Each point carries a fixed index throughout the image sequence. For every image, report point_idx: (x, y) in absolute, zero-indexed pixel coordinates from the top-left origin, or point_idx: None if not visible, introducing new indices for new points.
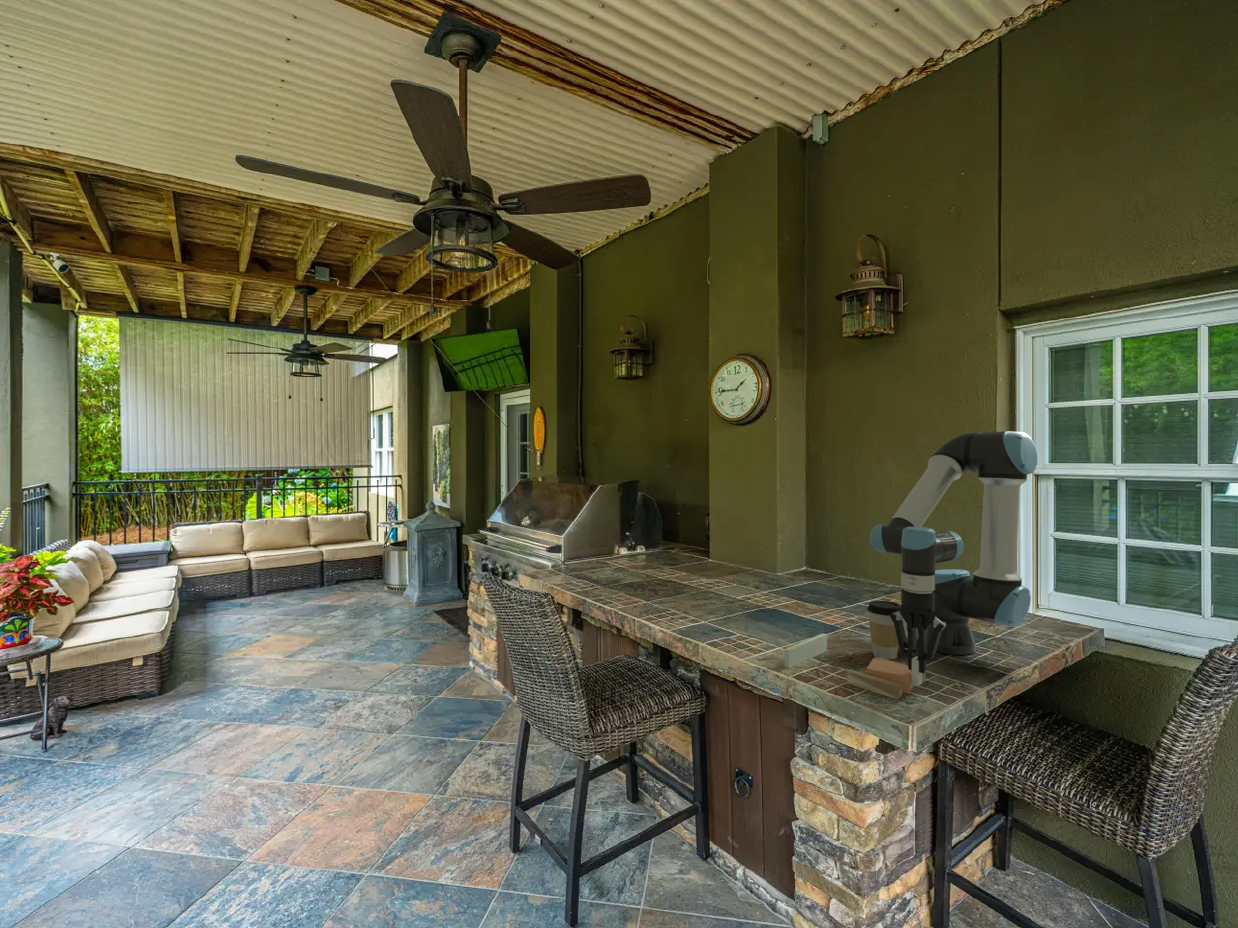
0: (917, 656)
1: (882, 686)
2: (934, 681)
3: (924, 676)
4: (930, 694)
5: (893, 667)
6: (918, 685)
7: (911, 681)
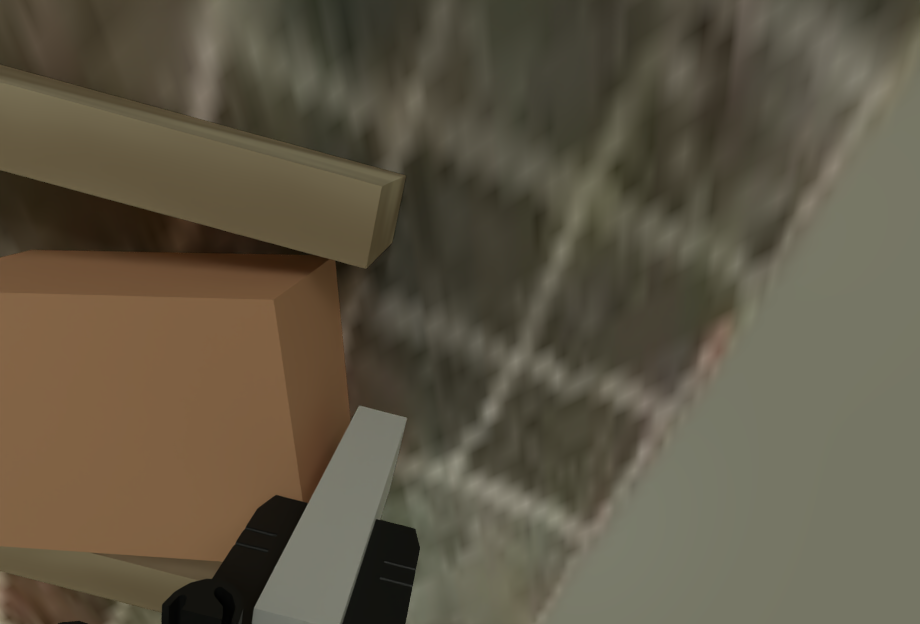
0: (271, 612)
1: None
2: (475, 126)
3: (391, 204)
4: (477, 422)
5: (129, 423)
6: (392, 477)
7: (328, 410)
